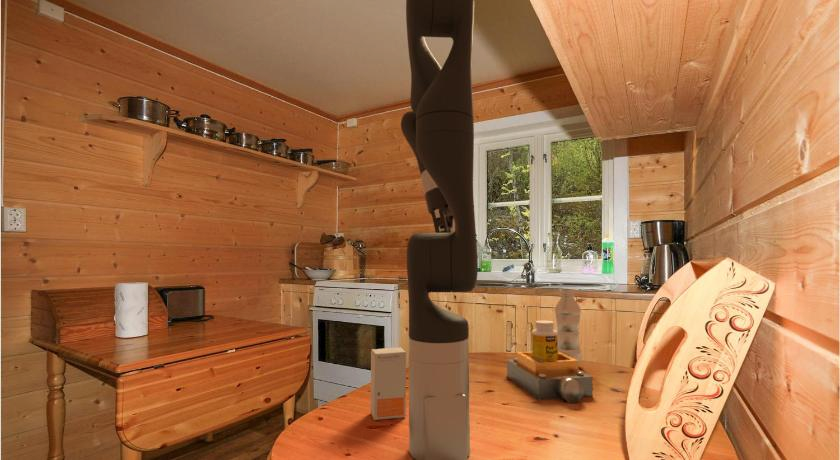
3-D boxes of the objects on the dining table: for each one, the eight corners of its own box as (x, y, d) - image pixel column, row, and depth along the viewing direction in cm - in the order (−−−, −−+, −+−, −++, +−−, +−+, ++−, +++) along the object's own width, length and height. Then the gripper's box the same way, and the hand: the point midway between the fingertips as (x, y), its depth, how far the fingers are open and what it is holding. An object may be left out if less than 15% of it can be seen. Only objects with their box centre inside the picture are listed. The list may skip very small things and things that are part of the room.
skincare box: (373, 421, 78) (373, 353, 78) (370, 413, 82) (370, 348, 82) (406, 417, 79) (406, 351, 80) (401, 409, 83) (401, 346, 84)
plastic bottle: (549, 365, 115) (548, 289, 116) (569, 362, 118) (567, 288, 119) (567, 371, 109) (566, 291, 110) (587, 368, 112) (585, 290, 113)
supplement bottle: (546, 372, 94) (545, 324, 95) (527, 366, 99) (526, 321, 99) (563, 368, 97) (562, 322, 98) (544, 362, 102) (543, 318, 102)
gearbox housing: (601, 401, 88) (600, 368, 88) (545, 405, 85) (545, 371, 86) (553, 373, 107) (552, 346, 107) (507, 376, 105) (506, 349, 105)
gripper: (445, 176, 89) (465, 252, 84) (465, 192, 101) (483, 258, 97) (412, 188, 91) (430, 262, 87) (436, 202, 104) (452, 267, 100)
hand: (458, 260), depth 92 cm, fingers open, 8 cm apart
